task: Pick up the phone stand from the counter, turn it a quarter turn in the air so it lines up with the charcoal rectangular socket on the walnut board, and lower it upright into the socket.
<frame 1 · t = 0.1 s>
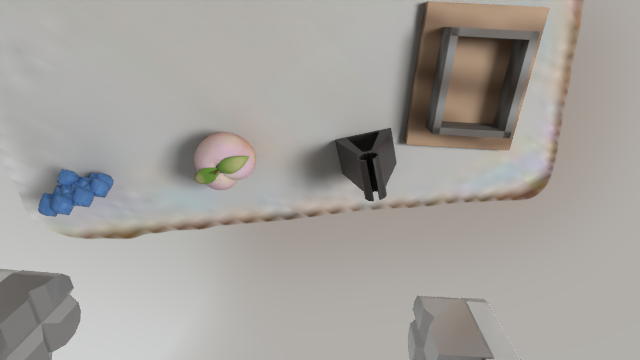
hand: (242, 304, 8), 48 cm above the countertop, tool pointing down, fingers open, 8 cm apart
socket board: (468, 80, 52), on the countertop
decorative fruit: (232, 148, 58), on the countertop
grapes: (98, 173, 61), on the countertop
phone stand: (365, 150, 57), on the countertop
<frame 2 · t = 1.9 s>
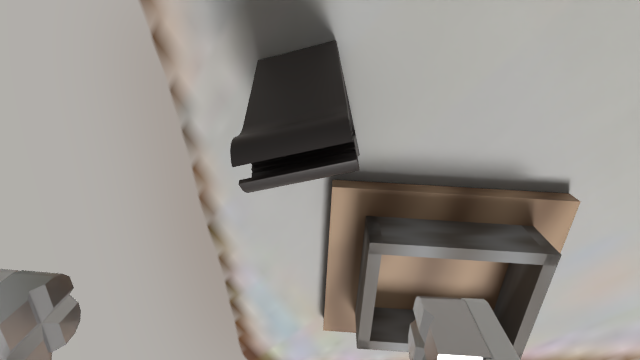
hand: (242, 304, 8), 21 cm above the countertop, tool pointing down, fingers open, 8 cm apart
socket board: (433, 262, 33), on the countertop
phone stand: (311, 108, 28), on the countertop
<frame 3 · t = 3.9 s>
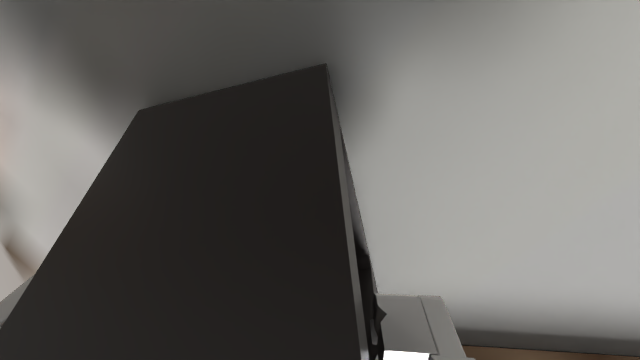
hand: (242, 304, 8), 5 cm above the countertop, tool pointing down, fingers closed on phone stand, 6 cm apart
phone stand: (275, 207, 13), on the countertop, touching gripper
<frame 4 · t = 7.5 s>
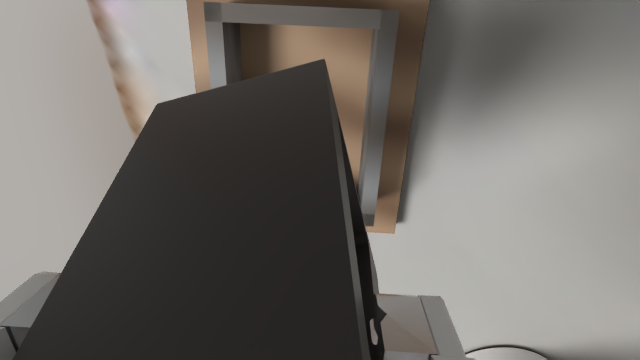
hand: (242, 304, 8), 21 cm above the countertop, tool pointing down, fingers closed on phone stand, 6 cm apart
socket board: (305, 109, 27), on the countertop
phone stand: (280, 191, 14), point 15 cm above the countertop, touching gripper
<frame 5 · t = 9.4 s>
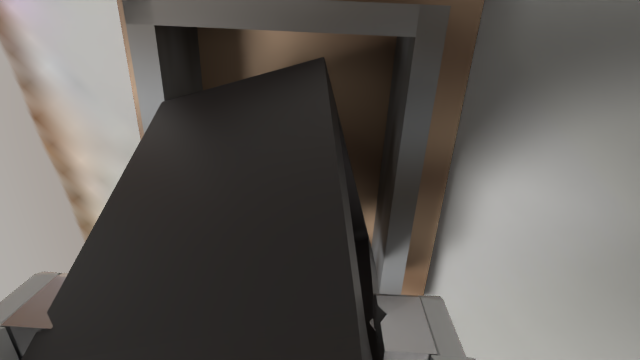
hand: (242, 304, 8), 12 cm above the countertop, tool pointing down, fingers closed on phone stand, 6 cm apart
socket board: (297, 147, 19), on the countertop
phone stand: (281, 187, 14), point 6 cm above the countertop, touching gripper
when the fingers open (8 cm above the countertop, at t = 11.1 s): phone stand stays where it is, resting on socket board.
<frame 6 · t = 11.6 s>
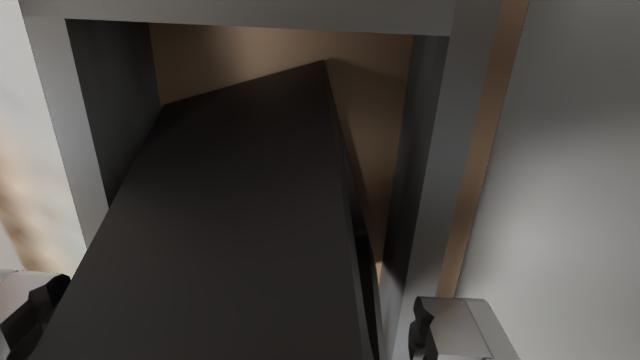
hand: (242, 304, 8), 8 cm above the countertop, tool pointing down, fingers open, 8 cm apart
socket board: (285, 173, 16), on the countertop
phone stand: (282, 188, 14), point 1 cm above the countertop, touching socket board
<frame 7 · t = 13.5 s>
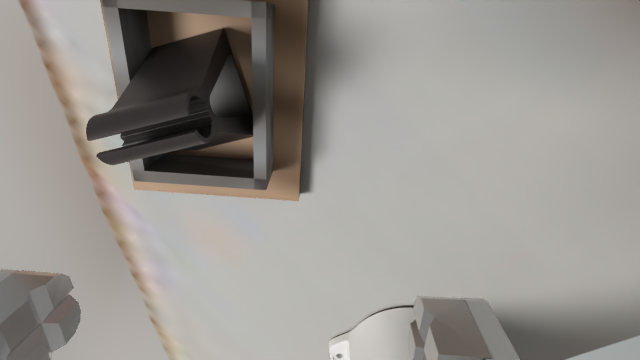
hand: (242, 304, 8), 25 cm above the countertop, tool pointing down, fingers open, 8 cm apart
socket board: (214, 88, 31), on the countertop
phone stand: (210, 92, 30), point 1 cm above the countertop, touching socket board
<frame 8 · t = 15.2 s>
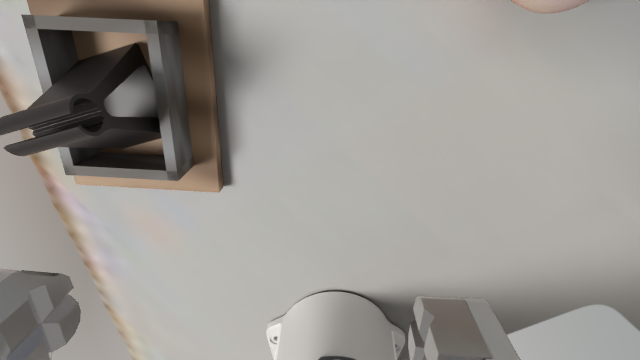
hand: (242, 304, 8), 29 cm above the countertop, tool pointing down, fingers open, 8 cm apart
socket board: (139, 94, 36), on the countertop
phone stand: (132, 97, 35), point 1 cm above the countertop, touching socket board
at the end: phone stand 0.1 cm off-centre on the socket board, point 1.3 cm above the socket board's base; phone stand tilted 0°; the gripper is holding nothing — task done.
